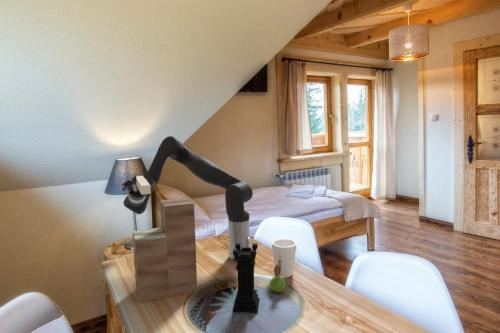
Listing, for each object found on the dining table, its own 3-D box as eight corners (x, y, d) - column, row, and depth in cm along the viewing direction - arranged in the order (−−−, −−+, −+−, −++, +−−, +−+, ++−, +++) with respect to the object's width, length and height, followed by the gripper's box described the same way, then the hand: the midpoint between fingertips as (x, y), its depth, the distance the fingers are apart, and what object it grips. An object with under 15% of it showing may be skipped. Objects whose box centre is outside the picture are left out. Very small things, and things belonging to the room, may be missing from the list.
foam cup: (269, 278, 134) (269, 245, 132) (275, 268, 143) (275, 237, 141) (293, 281, 131) (293, 248, 129) (298, 271, 139) (298, 240, 138)
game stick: (135, 183, 139) (134, 176, 139) (143, 183, 140) (142, 175, 140) (141, 194, 119) (141, 185, 119) (150, 193, 120) (150, 185, 120)
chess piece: (259, 300, 118) (258, 243, 115) (257, 313, 110) (256, 252, 107) (236, 299, 119) (234, 242, 116) (232, 312, 111) (231, 251, 108)
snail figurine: (287, 287, 126) (287, 256, 125) (283, 296, 120) (283, 263, 119) (273, 285, 128) (272, 254, 126) (268, 293, 122) (268, 261, 120)
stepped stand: (136, 289, 126) (130, 203, 122) (190, 279, 134) (187, 197, 130) (139, 302, 117) (133, 210, 113) (197, 290, 125) (194, 203, 121)
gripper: (119, 185, 147) (120, 170, 133) (153, 182, 153) (157, 167, 138) (120, 202, 145) (121, 188, 130) (155, 199, 151) (160, 185, 136)
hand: (140, 178), depth 134 cm, fingers closed on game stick, 3 cm apart
